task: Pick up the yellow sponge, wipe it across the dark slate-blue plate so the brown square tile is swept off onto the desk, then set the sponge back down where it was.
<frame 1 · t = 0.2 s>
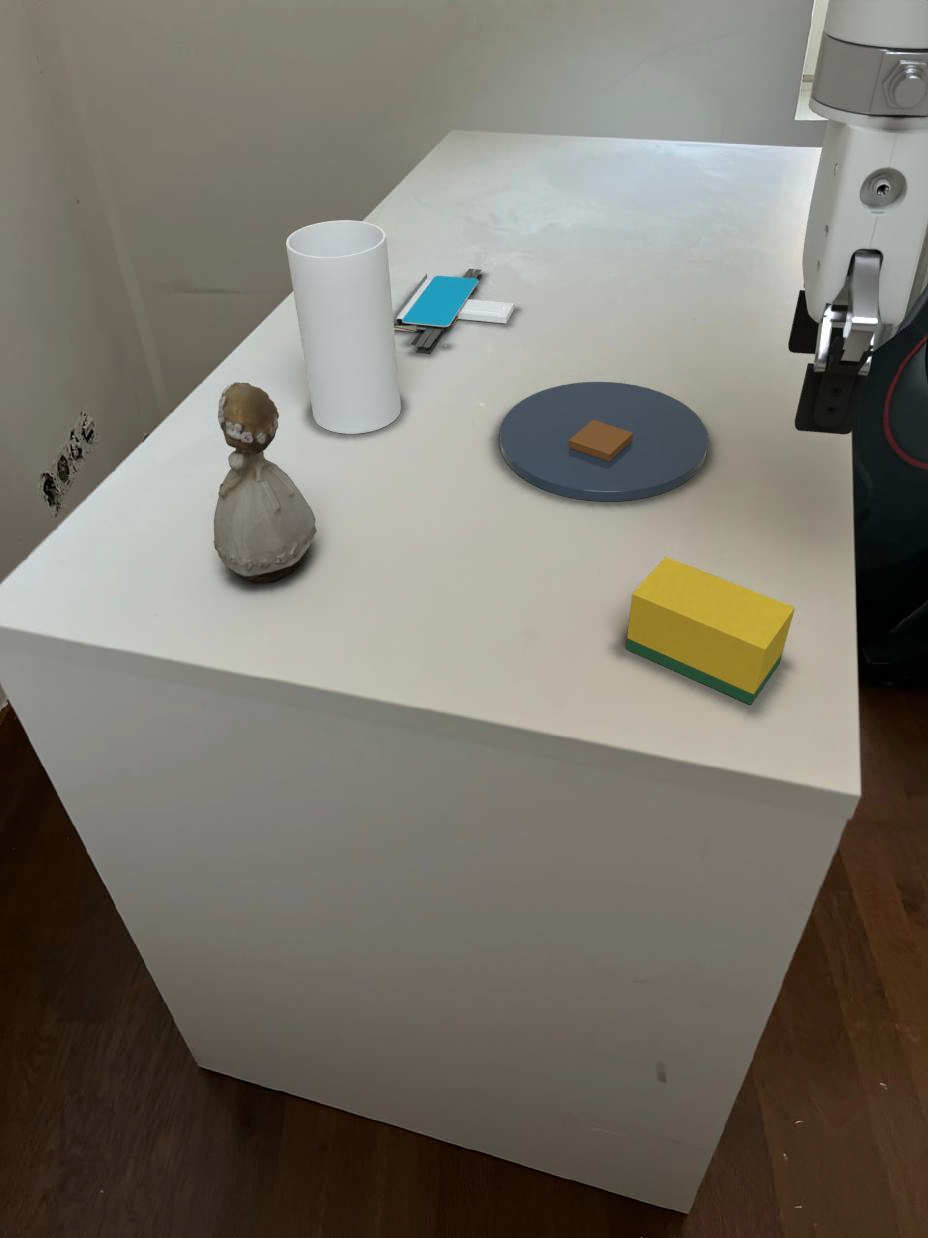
hand: (817, 388, 58), 15 cm above the table, tool pointing down, fingers open, 9 cm apart
phone stand: (457, 313, 103), on the table
cup: (357, 412, 88), on the table
sponge: (701, 656, 63), on the table
plate: (602, 441, 82), on the table
figurine: (272, 567, 71), on the table
brown square tile: (600, 444, 80), point 1 cm above the table, touching plate
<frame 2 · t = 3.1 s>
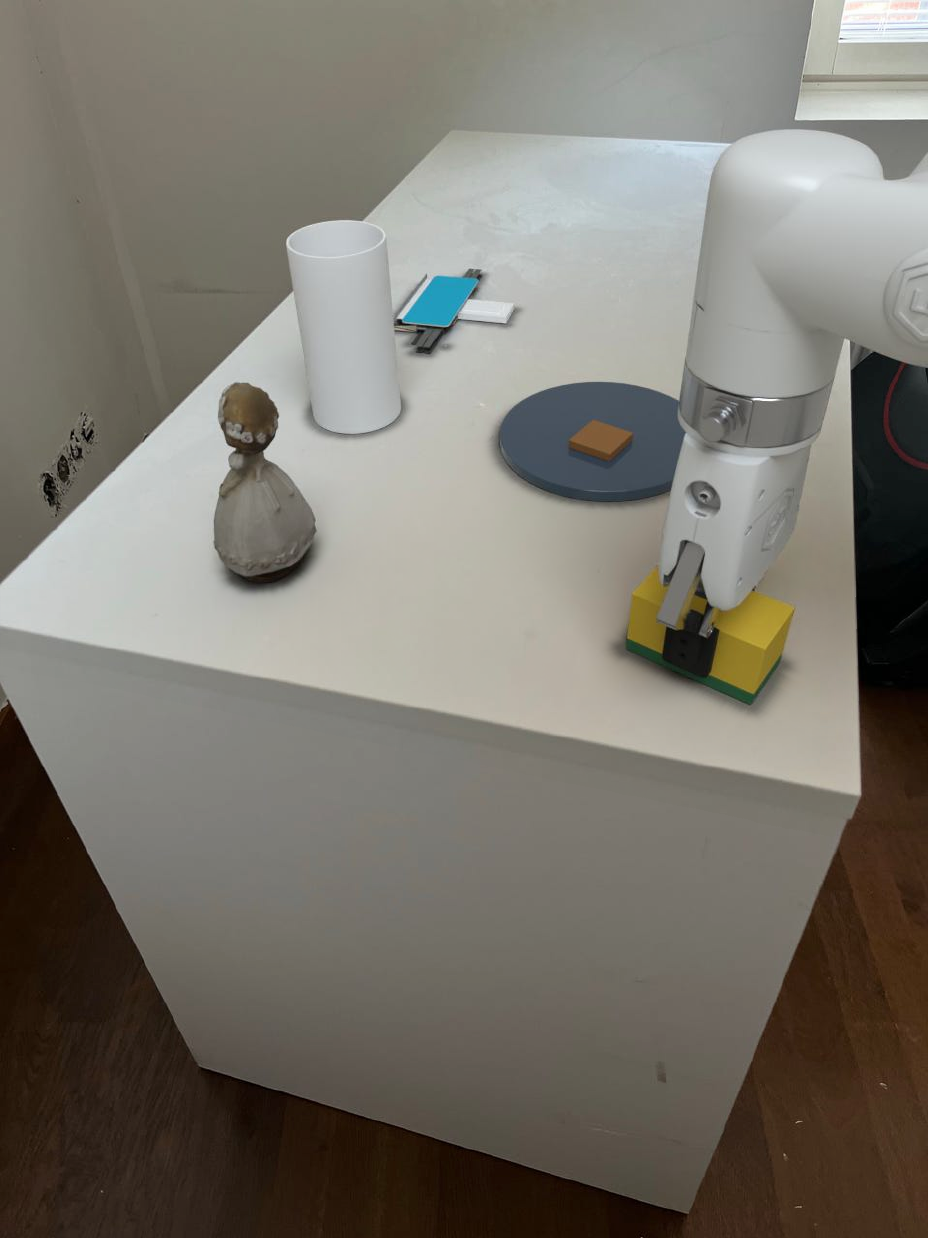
hand: (704, 641, 62), 1 cm above the table, tool pointing down, fingers closed on sponge, 4 cm apart
sponge: (701, 656, 63), on the table, touching gripper
everything else where it was.
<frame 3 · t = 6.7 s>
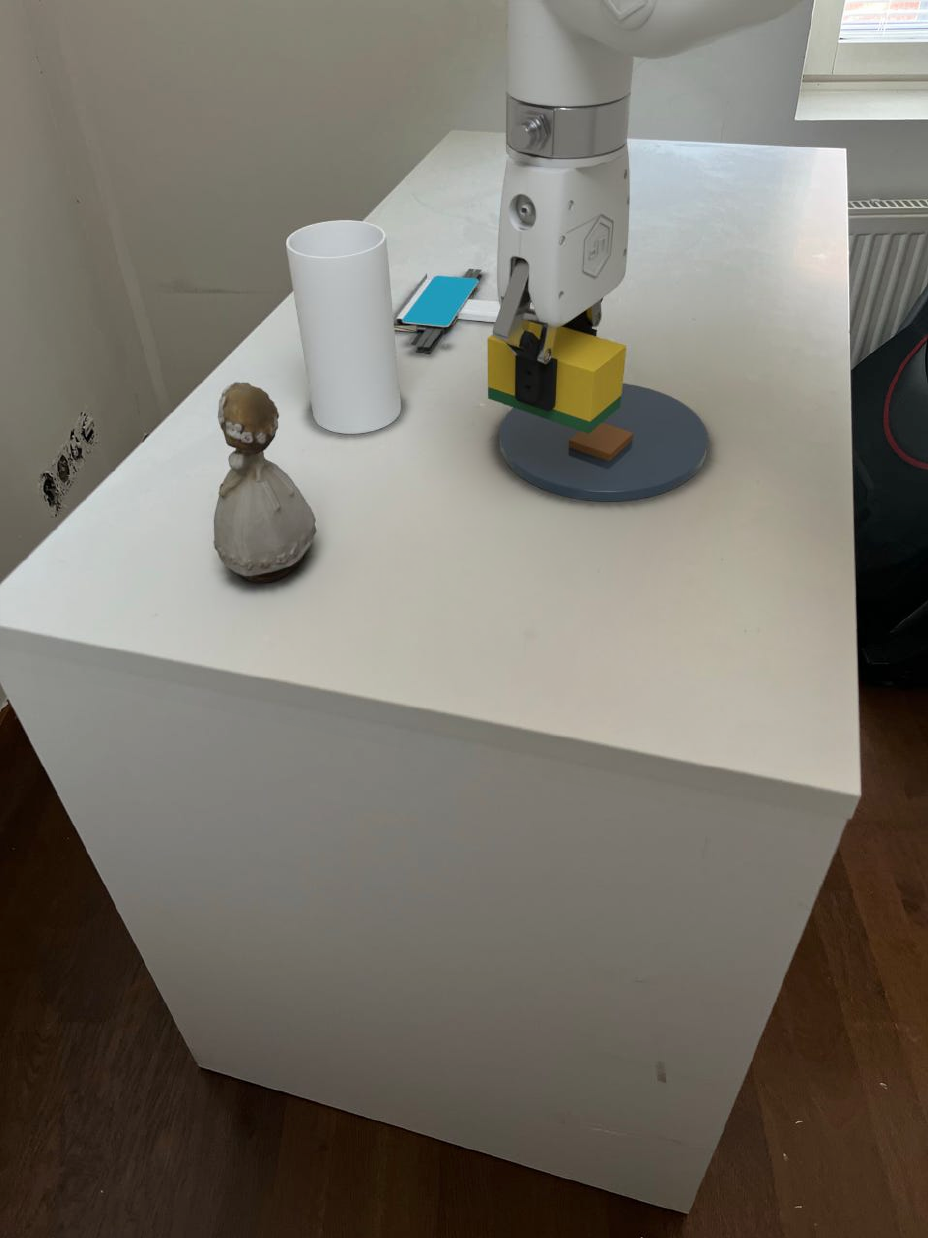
hand: (554, 386, 70), 10 cm above the table, tool pointing down, fingers closed on sponge, 4 cm apart
sponge: (553, 402, 71), point 8 cm above the table, touching gripper
everything else where it was.
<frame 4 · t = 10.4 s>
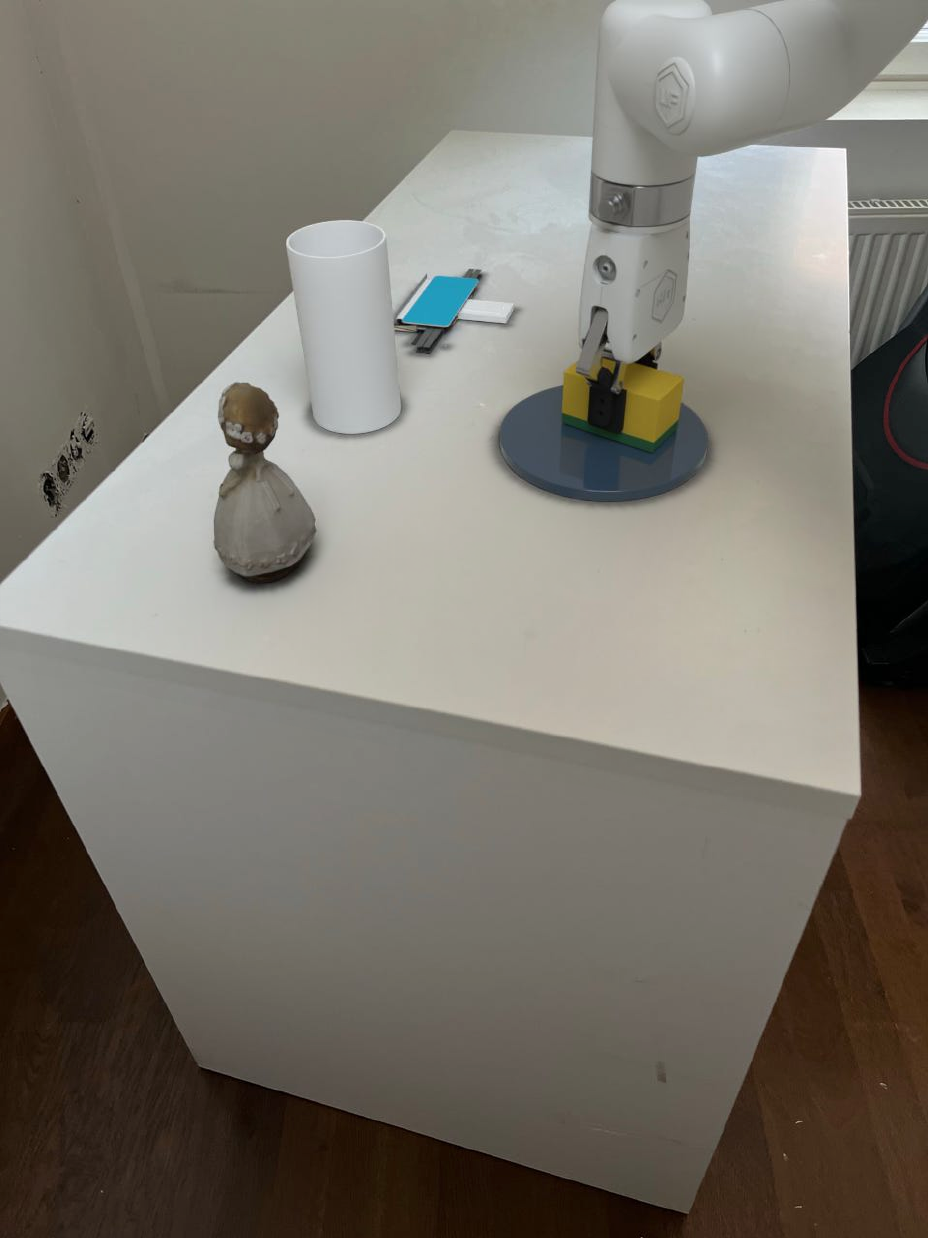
hand: (620, 412, 81), 2 cm above the table, tool pointing down, fingers closed on sponge, 4 cm apart
sponge: (618, 426, 82), point 1 cm above the table, touching brown square tile, gripper
brown square tile: (642, 405, 85), point 1 cm above the table, touching sponge
everything else where it was.
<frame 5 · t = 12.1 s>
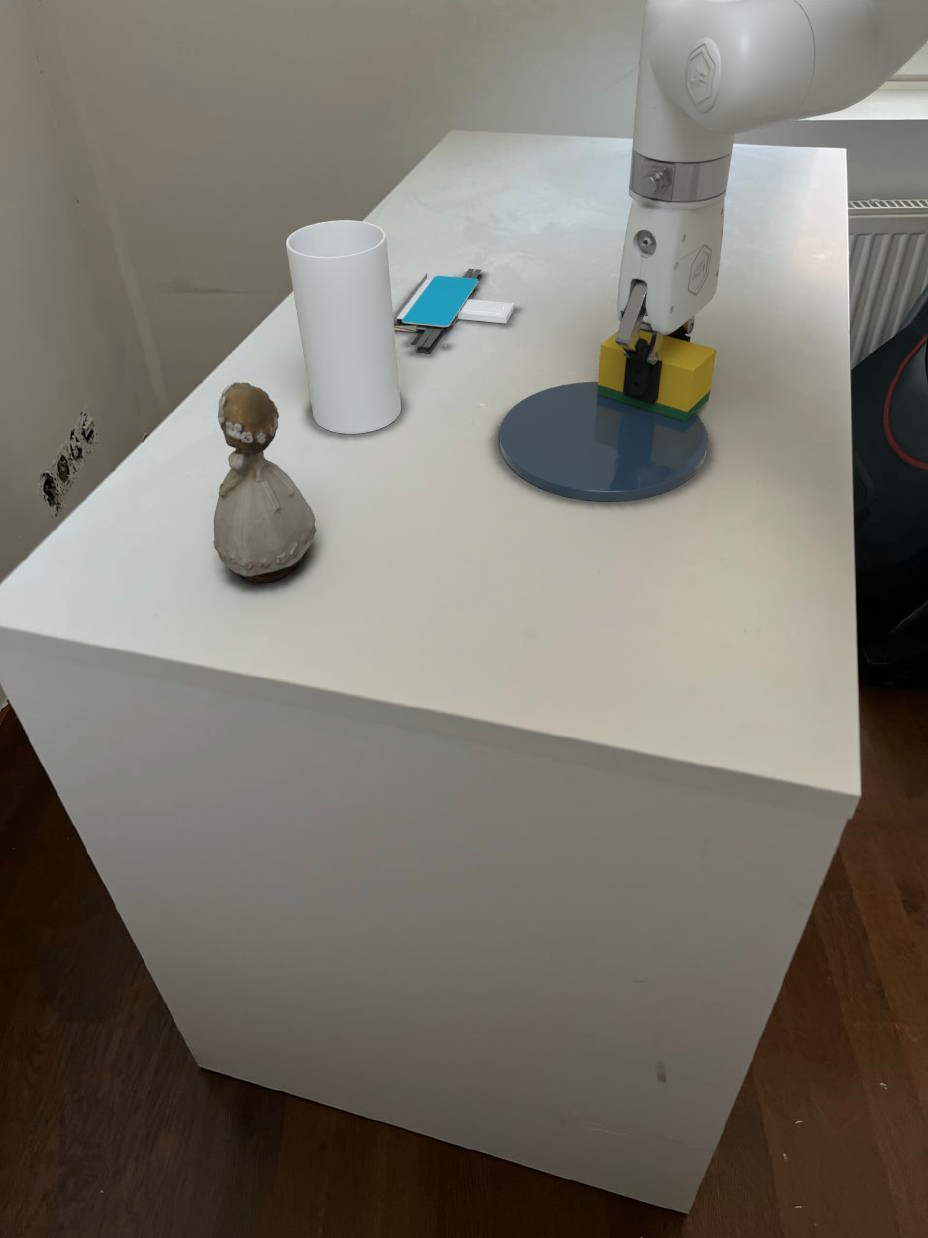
hand: (654, 384, 85), 2 cm above the table, tool pointing down, fingers closed on sponge, 4 cm apart
sponge: (652, 397, 86), point 1 cm above the table, touching gripper, plate
brown square tile: (669, 390, 89), on the table
everything else where it was.
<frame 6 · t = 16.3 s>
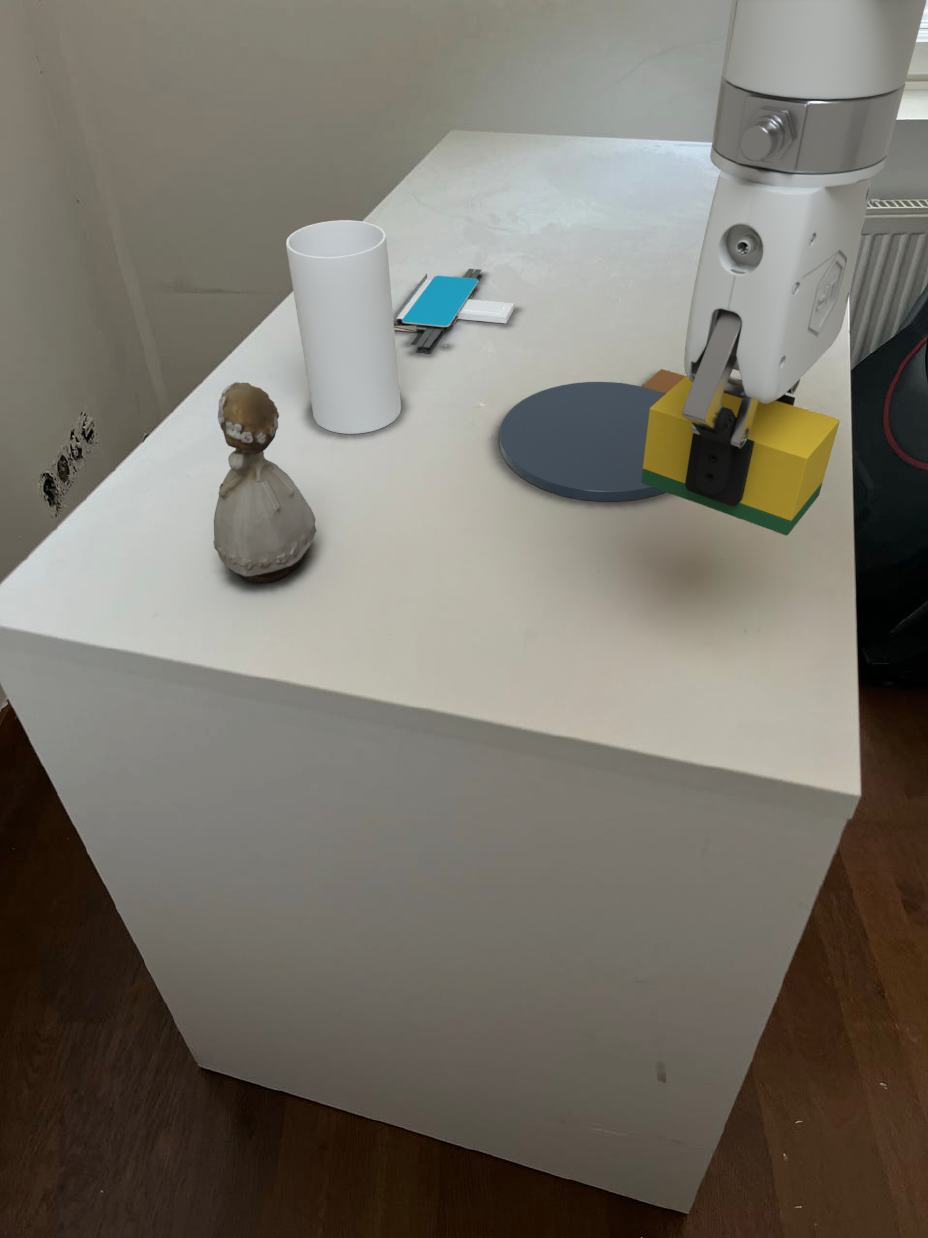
hand: (733, 470, 53), 14 cm above the table, tool pointing down, fingers closed on sponge, 4 cm apart
sponge: (728, 489, 54), point 13 cm above the table, touching gripper
everything else where it was.
when the fingers open (1 cm above the table, at t = 19.5 s): sponge stays where it is, on the table.
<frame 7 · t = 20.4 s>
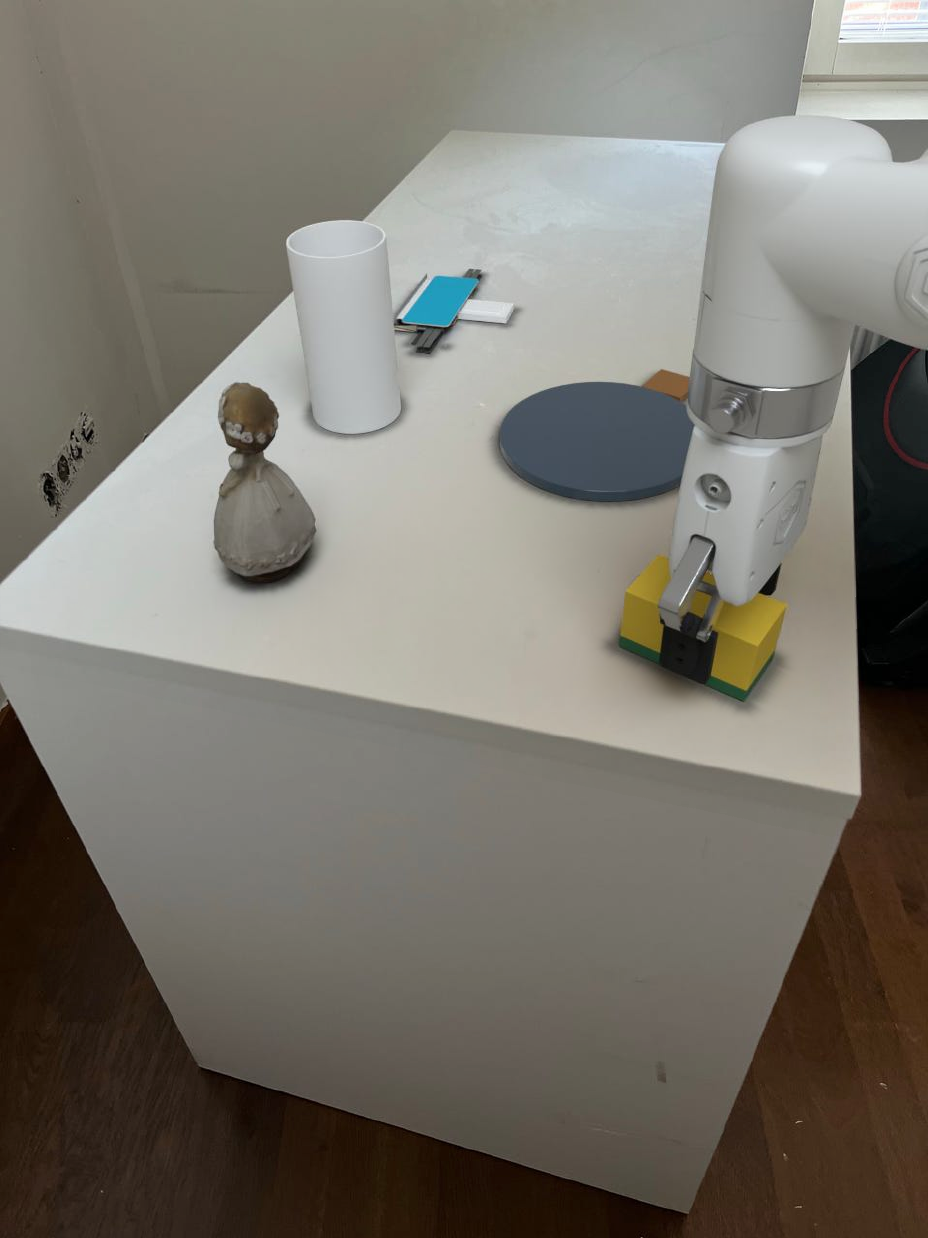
hand: (718, 627, 60), 3 cm above the table, tool pointing down, fingers open, 9 cm apart
sponge: (694, 653, 63), on the table
everything else where it was.
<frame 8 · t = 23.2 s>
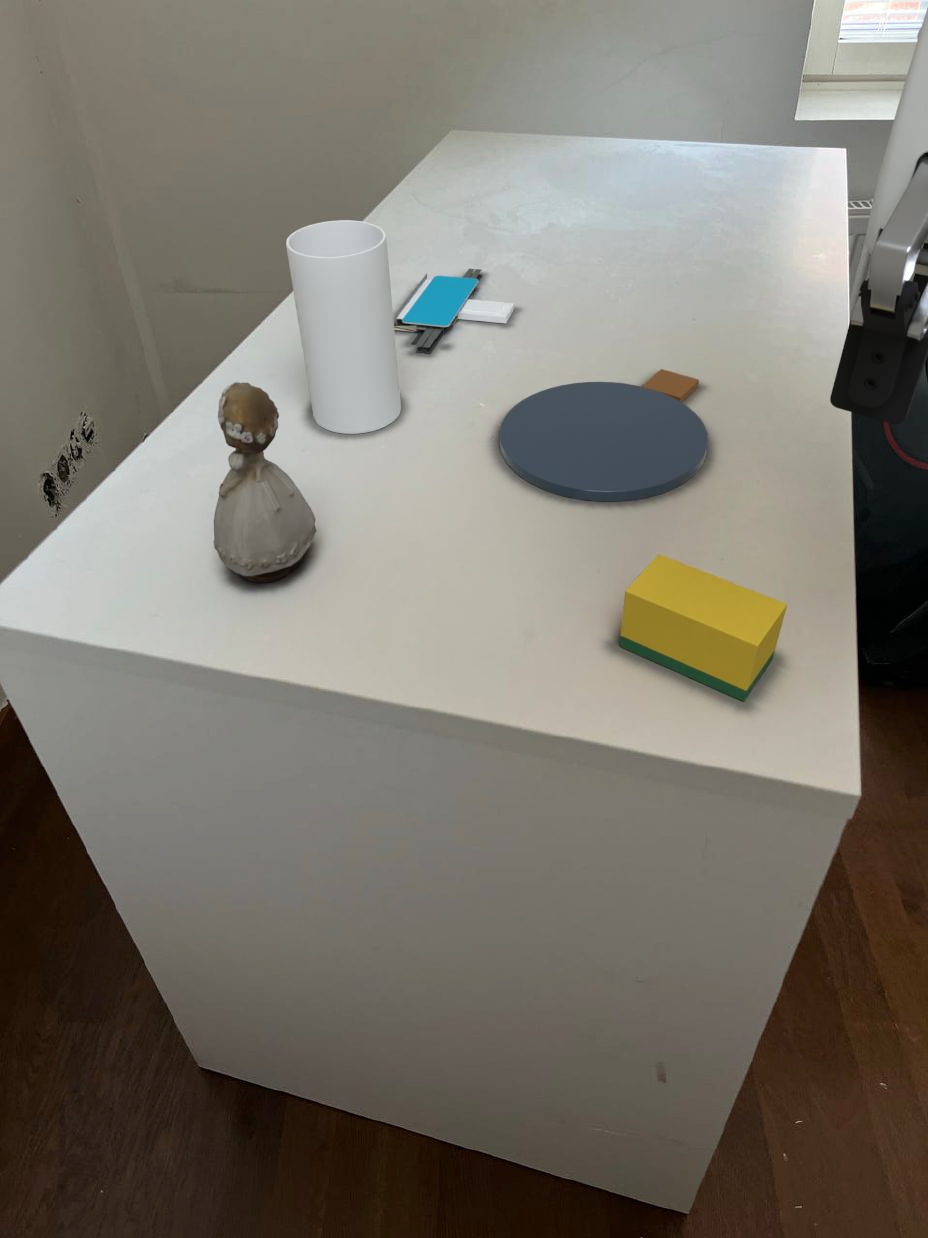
hand: (903, 367, 43), 23 cm above the table, tool pointing down, fingers open, 9 cm apart
nothing on the table moved.
at the end: brown square tile on the table; brown square tile touching table; sponge inside the target area (0.5 cm from its centre), on the table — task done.
